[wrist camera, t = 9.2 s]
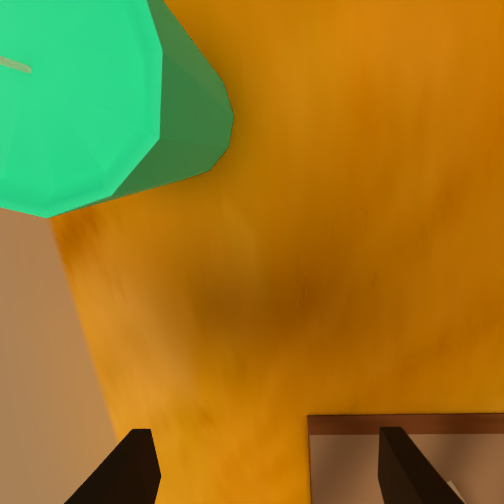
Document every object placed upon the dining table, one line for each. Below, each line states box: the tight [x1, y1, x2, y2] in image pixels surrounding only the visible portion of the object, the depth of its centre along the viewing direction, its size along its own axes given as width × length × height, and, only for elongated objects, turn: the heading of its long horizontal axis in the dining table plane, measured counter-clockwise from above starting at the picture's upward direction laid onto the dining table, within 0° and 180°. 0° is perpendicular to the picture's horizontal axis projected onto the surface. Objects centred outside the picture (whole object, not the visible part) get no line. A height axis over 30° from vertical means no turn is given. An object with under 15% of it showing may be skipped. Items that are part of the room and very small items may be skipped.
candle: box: [0, 0, 234, 218], centre depth 10 cm, size 6×6×12 cm
